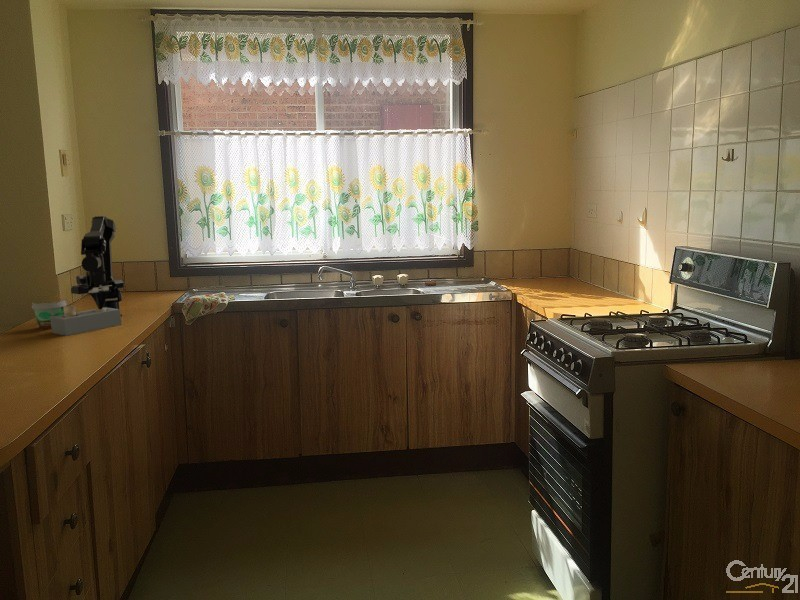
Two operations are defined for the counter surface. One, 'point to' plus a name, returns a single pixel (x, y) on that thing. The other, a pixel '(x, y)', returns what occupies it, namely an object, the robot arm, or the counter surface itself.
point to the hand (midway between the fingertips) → (100, 309)
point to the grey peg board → (85, 321)
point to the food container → (47, 313)
